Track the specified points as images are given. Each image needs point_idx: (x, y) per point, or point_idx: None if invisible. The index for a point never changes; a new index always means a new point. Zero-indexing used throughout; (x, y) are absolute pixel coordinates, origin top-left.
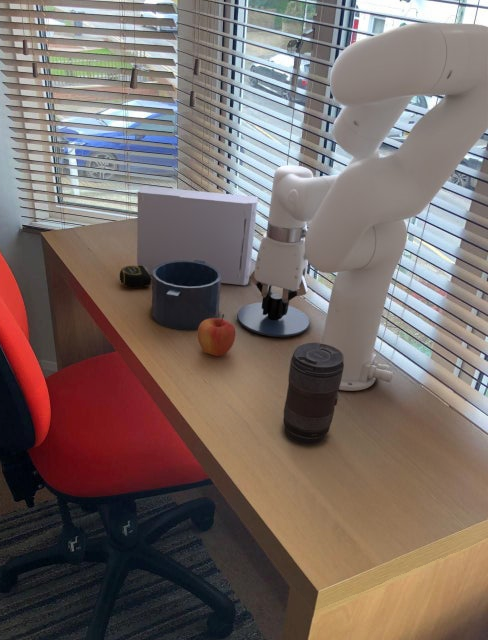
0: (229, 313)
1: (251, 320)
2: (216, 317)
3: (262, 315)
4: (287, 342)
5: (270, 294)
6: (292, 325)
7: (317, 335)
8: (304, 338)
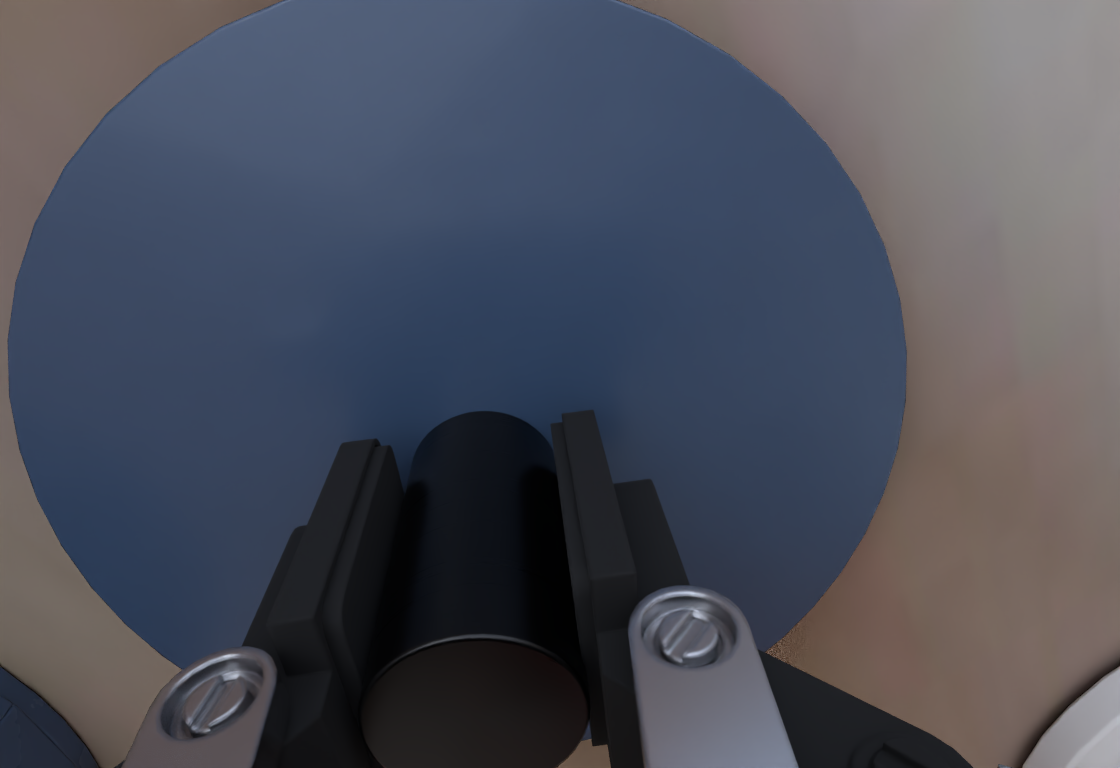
0: (11, 551)
1: None
2: (48, 755)
3: None
4: (772, 649)
5: (339, 719)
6: (746, 490)
7: (997, 390)
8: (887, 515)
